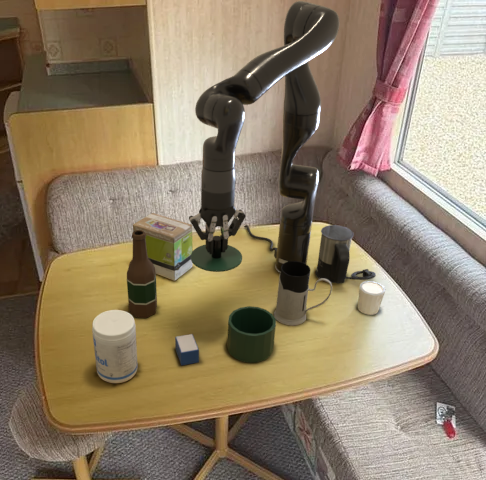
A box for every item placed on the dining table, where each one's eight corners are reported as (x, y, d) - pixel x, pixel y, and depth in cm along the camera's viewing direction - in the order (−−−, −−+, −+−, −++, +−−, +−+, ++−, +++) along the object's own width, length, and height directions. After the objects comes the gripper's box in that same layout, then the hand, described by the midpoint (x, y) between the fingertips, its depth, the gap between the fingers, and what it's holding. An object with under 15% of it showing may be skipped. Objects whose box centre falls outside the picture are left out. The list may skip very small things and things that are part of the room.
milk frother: (309, 270, 169) (314, 227, 160) (352, 260, 174) (359, 218, 166) (335, 295, 158) (343, 250, 150) (380, 284, 163) (390, 240, 155)
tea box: (193, 267, 169) (193, 224, 161) (174, 282, 162) (173, 238, 154) (154, 252, 176) (152, 210, 168) (134, 266, 169) (131, 223, 160)
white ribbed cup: (381, 317, 149) (386, 296, 146) (355, 314, 150) (359, 293, 147) (380, 303, 155) (384, 282, 151) (355, 299, 156) (359, 279, 152)
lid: (185, 250, 137) (184, 229, 133) (232, 244, 140) (233, 222, 137) (198, 277, 127) (198, 254, 124) (249, 269, 130) (250, 247, 127)
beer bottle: (162, 306, 152) (160, 229, 139) (148, 321, 146) (144, 243, 133) (138, 298, 155) (133, 222, 142) (123, 314, 149) (116, 235, 136)
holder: (278, 302, 154) (283, 256, 146) (329, 314, 150) (337, 268, 142) (269, 320, 147) (274, 273, 139) (322, 333, 143) (330, 285, 135)
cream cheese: (175, 349, 137) (175, 336, 135) (192, 346, 138) (192, 333, 136) (181, 365, 132) (181, 352, 130) (199, 362, 133) (199, 349, 131)
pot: (221, 336, 141) (222, 310, 137) (263, 329, 144) (265, 303, 140) (235, 366, 132) (237, 338, 128) (279, 358, 135) (283, 331, 130)
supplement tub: (88, 371, 130) (81, 322, 122) (119, 351, 136) (114, 303, 128) (116, 391, 125) (111, 341, 117) (146, 369, 131) (143, 320, 123)
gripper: (242, 175, 127) (238, 240, 137) (183, 181, 124) (184, 247, 133) (253, 188, 121) (249, 255, 131) (192, 195, 118) (192, 264, 127)
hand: (216, 251), depth 132 cm, fingers closed on lid, 2 cm apart
